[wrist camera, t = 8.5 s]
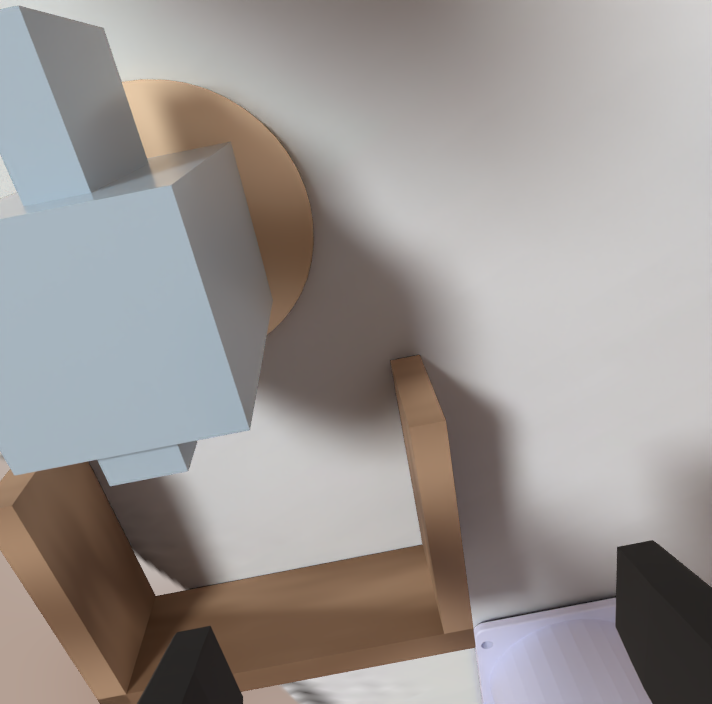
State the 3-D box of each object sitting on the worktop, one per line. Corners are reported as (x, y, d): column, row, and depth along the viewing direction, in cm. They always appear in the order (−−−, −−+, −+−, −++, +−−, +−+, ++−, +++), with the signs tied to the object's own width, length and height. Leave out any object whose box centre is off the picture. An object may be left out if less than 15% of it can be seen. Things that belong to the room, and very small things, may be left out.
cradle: (449, 557, 23) (476, 647, 19) (140, 617, 23) (108, 716, 19) (419, 354, 18) (446, 420, 15) (40, 429, 19) (-25, 512, 15)
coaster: (337, 329, 18) (337, 334, 17) (95, 377, 18) (90, 383, 18) (276, 50, 14) (275, 50, 14) (-25, 113, 14) (-34, 113, 14)
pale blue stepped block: (279, 323, 17) (260, 463, 11) (134, 352, 17) (33, 507, 11) (199, 21, 13) (100, -33, 7) (15, 58, 14) (-238, 38, 7)
